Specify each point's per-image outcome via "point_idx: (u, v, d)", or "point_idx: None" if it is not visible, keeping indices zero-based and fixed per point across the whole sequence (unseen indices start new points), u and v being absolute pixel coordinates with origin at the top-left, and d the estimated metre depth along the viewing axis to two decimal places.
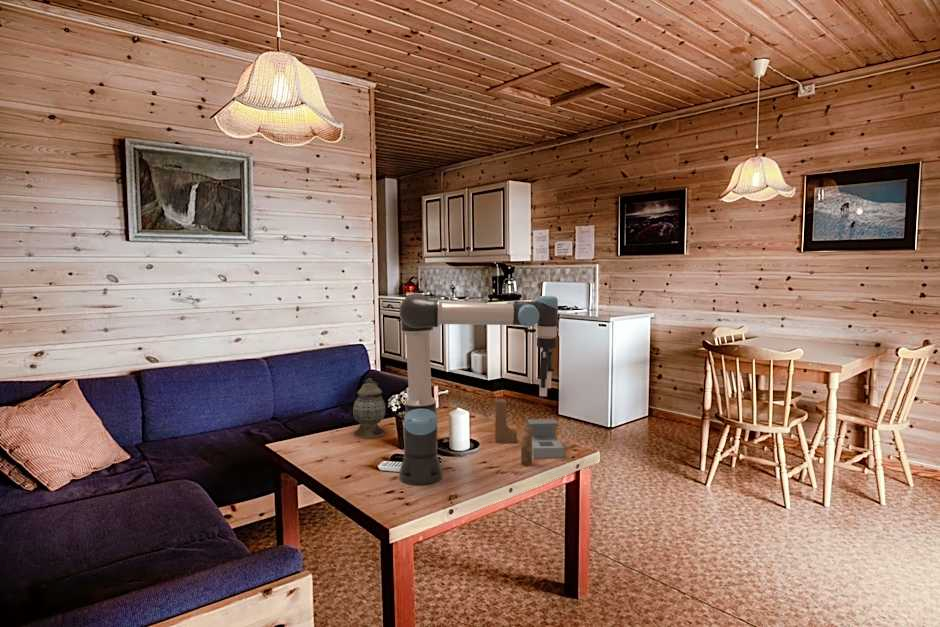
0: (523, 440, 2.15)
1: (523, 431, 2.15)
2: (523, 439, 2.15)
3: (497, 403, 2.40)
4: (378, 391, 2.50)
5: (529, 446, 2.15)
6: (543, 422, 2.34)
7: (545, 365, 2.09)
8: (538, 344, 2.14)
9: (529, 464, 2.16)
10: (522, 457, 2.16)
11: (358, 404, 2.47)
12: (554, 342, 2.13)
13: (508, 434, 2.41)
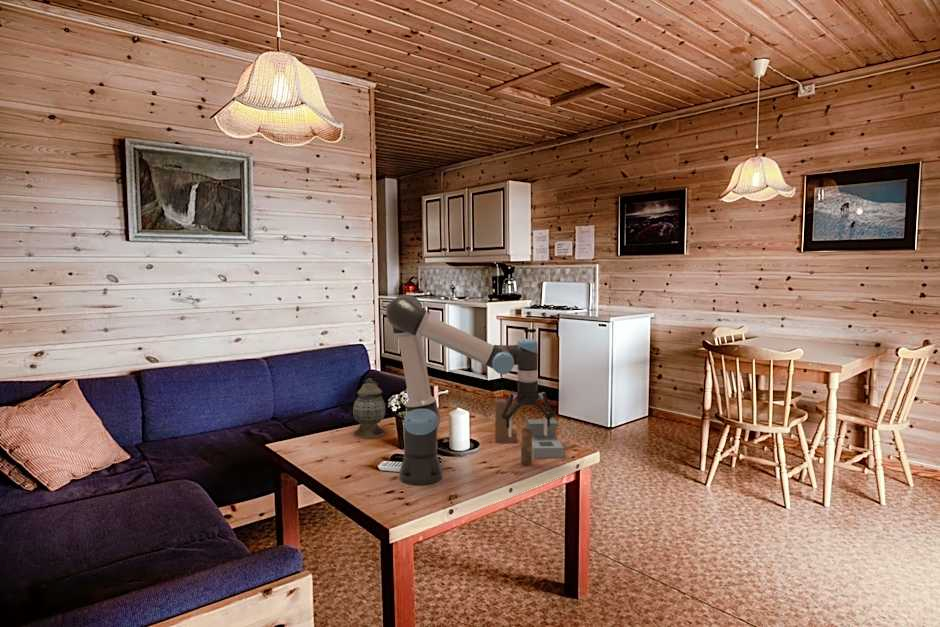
0: (523, 440, 2.15)
1: (523, 431, 2.15)
2: (523, 439, 2.15)
3: (497, 403, 2.40)
4: (378, 391, 2.50)
5: (529, 446, 2.15)
6: (543, 422, 2.34)
7: (506, 406, 2.14)
8: None
9: (529, 464, 2.16)
10: (522, 457, 2.16)
11: (358, 404, 2.47)
12: (523, 386, 2.11)
13: None
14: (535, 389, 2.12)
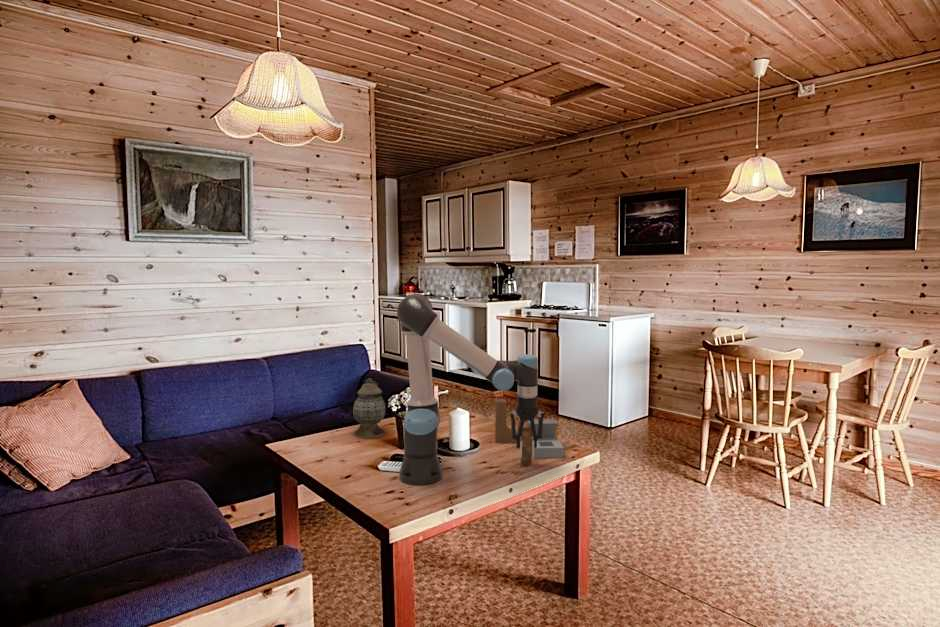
0: (523, 440, 2.15)
1: (523, 431, 2.15)
2: (523, 439, 2.15)
3: (497, 403, 2.40)
4: (378, 391, 2.50)
5: (529, 446, 2.15)
6: (543, 422, 2.34)
7: (511, 426, 2.15)
8: None
9: (529, 464, 2.16)
10: (522, 457, 2.16)
11: (358, 404, 2.47)
12: (523, 402, 2.11)
13: (508, 434, 2.41)
14: (535, 405, 2.12)
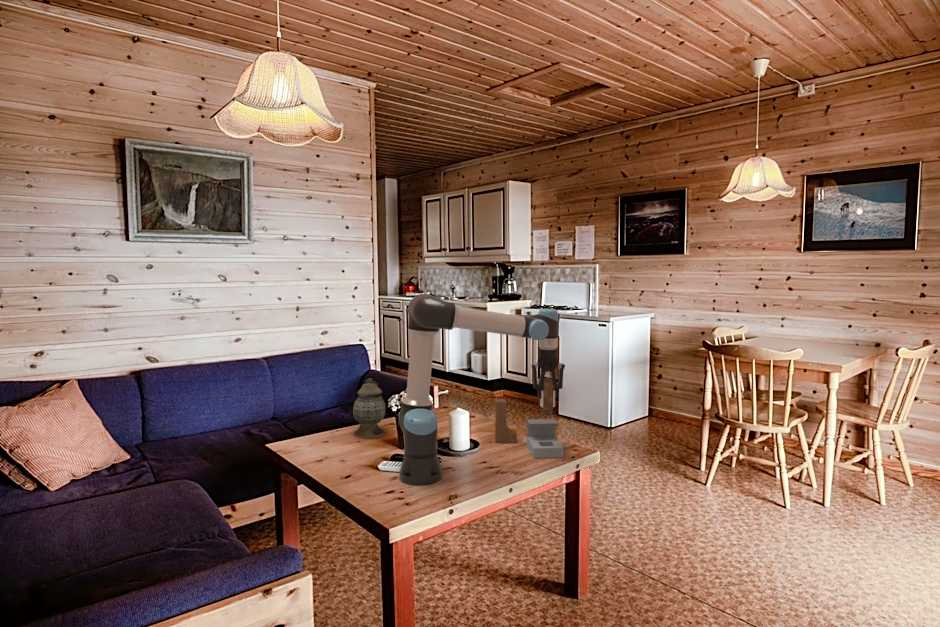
0: (544, 390, 2.25)
1: (544, 381, 2.25)
2: (544, 389, 2.25)
3: (497, 403, 2.40)
4: (378, 391, 2.50)
5: (550, 396, 2.25)
6: (543, 422, 2.34)
7: (533, 377, 2.25)
8: None
9: (550, 413, 2.26)
10: (543, 407, 2.26)
11: (359, 404, 2.47)
12: (544, 353, 2.22)
13: (508, 434, 2.41)
14: (555, 356, 2.22)
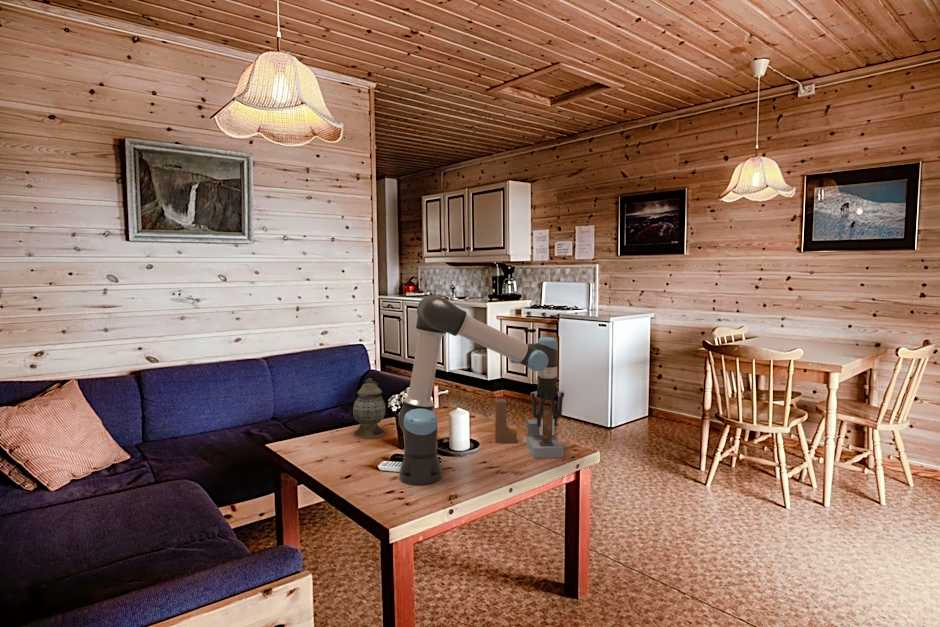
0: (544, 418, 2.26)
1: (544, 410, 2.26)
2: (544, 417, 2.26)
3: (497, 403, 2.40)
4: (378, 391, 2.50)
5: (549, 424, 2.26)
6: None
7: (533, 405, 2.26)
8: None
9: (549, 441, 2.27)
10: (543, 435, 2.27)
11: (358, 404, 2.47)
12: (544, 382, 2.23)
13: (508, 434, 2.41)
14: (555, 385, 2.23)
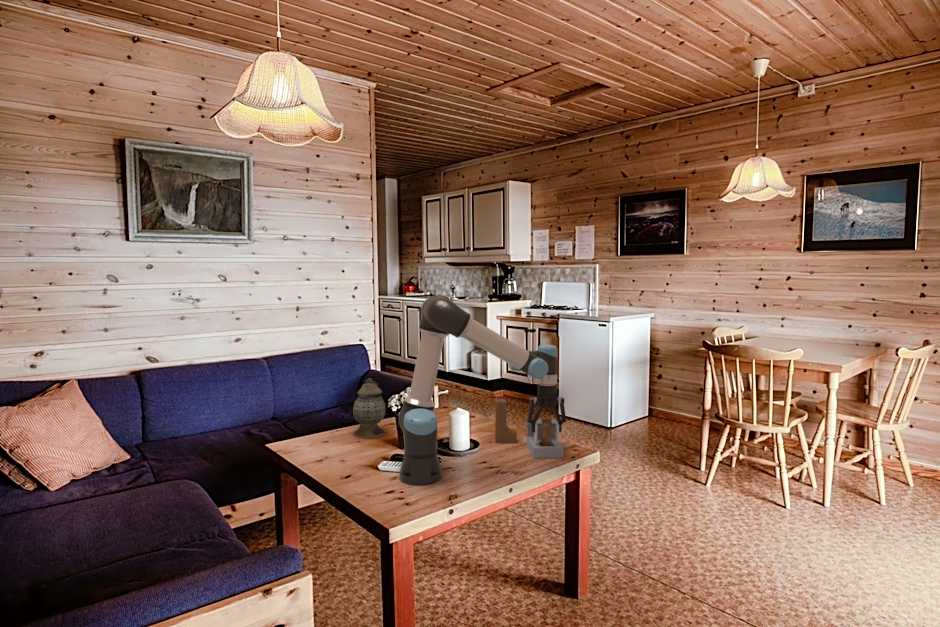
0: (543, 431, 2.27)
1: (543, 422, 2.26)
2: (543, 430, 2.27)
3: (497, 403, 2.40)
4: (378, 391, 2.50)
5: (549, 436, 2.26)
6: None
7: (529, 411, 2.26)
8: None
9: None
10: None
11: (358, 404, 2.47)
12: (543, 390, 2.23)
13: (508, 434, 2.41)
14: (554, 392, 2.24)
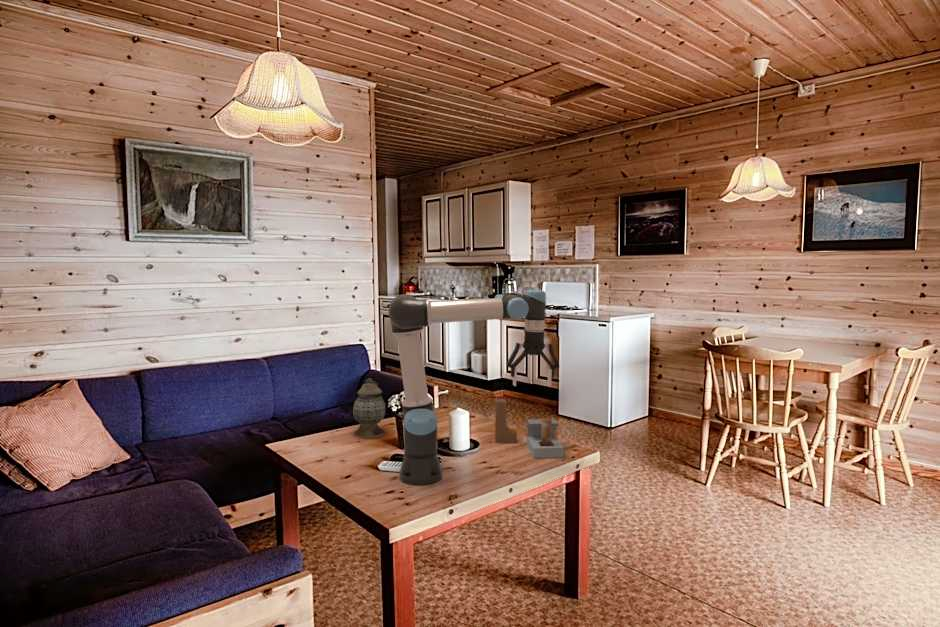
0: (543, 431, 2.27)
1: (543, 422, 2.26)
2: (543, 430, 2.26)
3: (497, 403, 2.40)
4: (378, 391, 2.50)
5: (549, 436, 2.26)
6: None
7: (512, 355, 2.16)
8: None
9: None
10: None
11: (358, 404, 2.47)
12: (530, 336, 2.14)
13: (508, 434, 2.41)
14: (542, 339, 2.15)
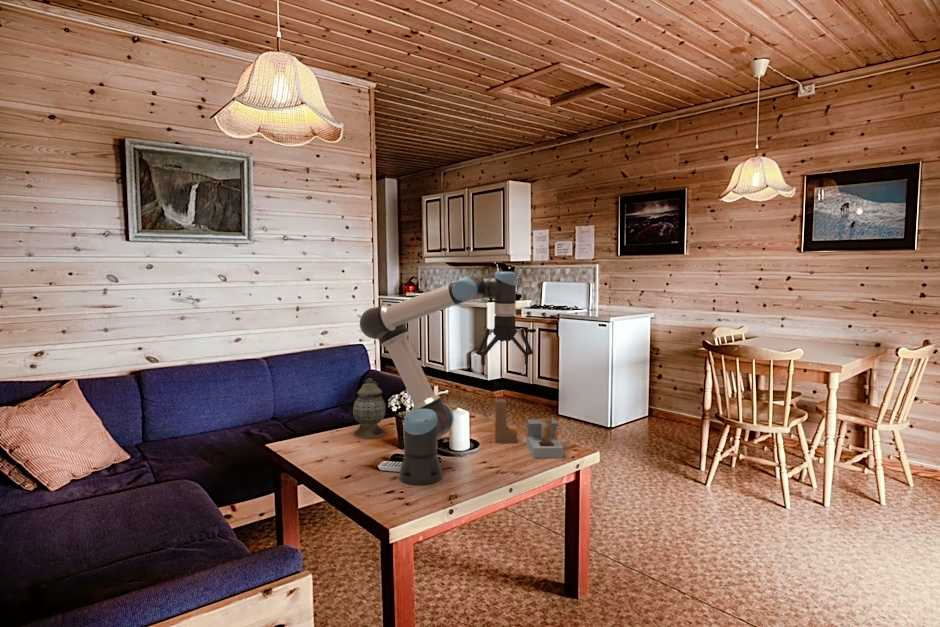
0: (543, 431, 2.27)
1: (543, 422, 2.26)
2: (543, 430, 2.26)
3: (497, 403, 2.40)
4: (378, 391, 2.50)
5: (549, 436, 2.26)
6: None
7: (481, 342, 2.02)
8: None
9: None
10: None
11: (359, 404, 2.47)
12: (500, 320, 2.00)
13: (508, 434, 2.41)
14: (512, 324, 2.00)
